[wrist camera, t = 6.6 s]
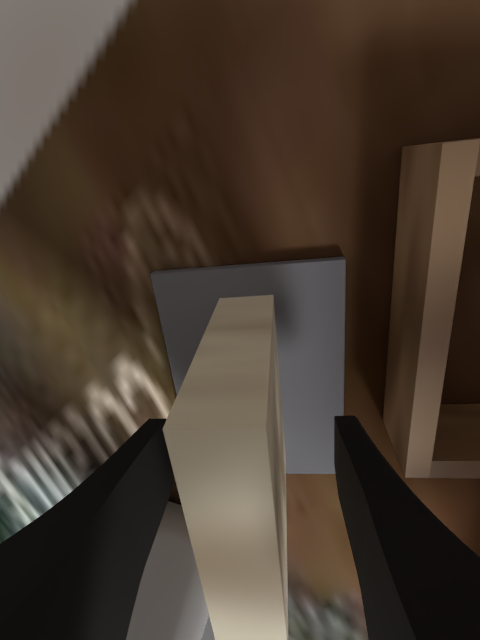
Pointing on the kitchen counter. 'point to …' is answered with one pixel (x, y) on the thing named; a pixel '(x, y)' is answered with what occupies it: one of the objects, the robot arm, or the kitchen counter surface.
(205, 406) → the cream flat block
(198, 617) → the salt shaker
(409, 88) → the kitchen counter surface
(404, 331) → the tray
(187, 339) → the rubber mat
